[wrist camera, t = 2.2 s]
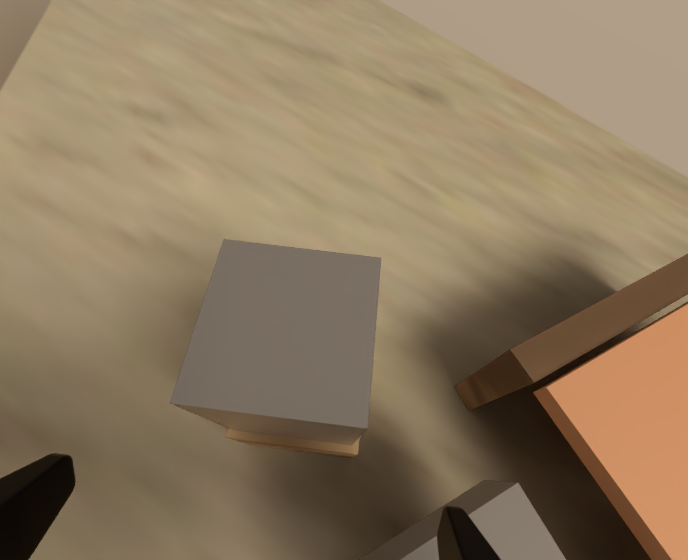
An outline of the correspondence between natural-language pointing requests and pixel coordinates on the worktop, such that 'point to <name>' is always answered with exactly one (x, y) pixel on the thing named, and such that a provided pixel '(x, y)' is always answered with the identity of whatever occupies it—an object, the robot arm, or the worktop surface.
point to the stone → (284, 343)
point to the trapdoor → (597, 452)
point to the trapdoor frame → (575, 335)
